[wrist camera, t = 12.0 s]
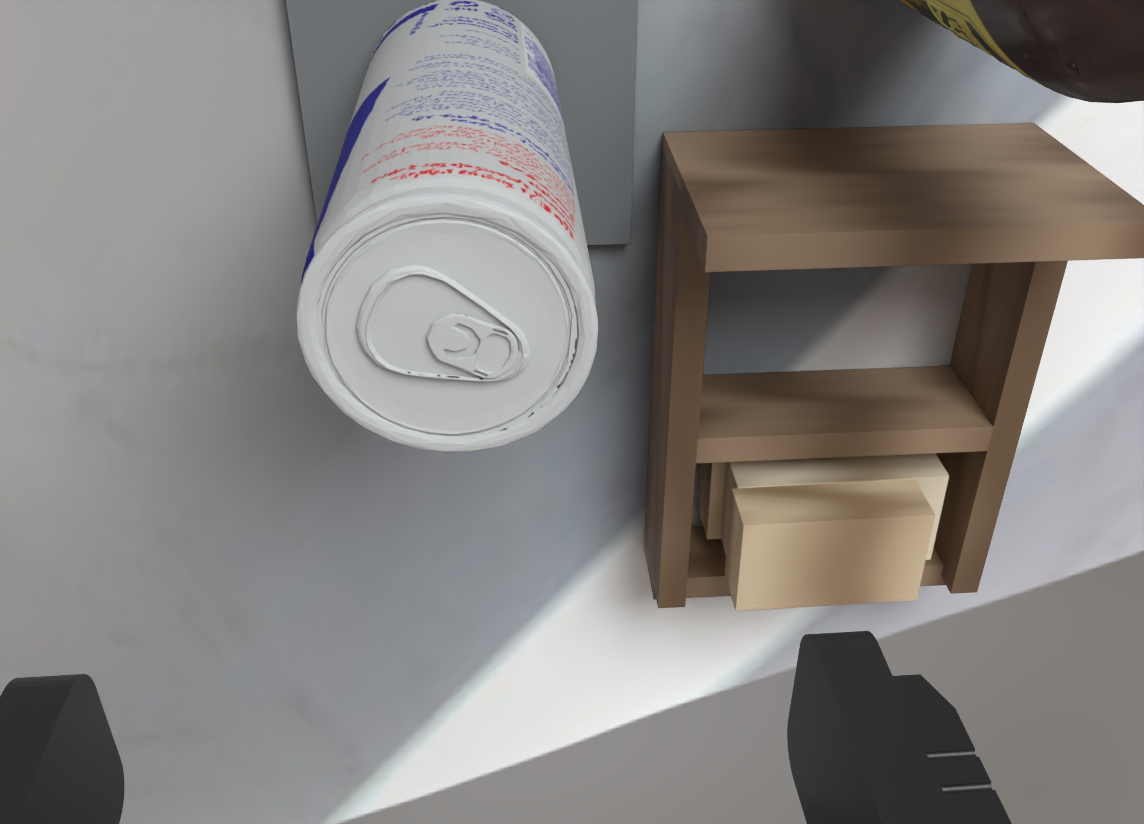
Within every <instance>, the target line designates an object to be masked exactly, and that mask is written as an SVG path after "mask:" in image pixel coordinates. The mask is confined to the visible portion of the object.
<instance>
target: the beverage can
mask: <svg viewBox="0 0 1144 824" xmlns="http://www.w3.org/2000/svg"><path fill="white" fill-rule="evenodd" d="M296 324H297V333H298V340H299V343H300V346H301V349H302V353H303V356H304V359H305V362H306V364H307V366H308V368H309V370H310V372H311V374H312V376H313V378H314V379H315V381H316V382H317V383H318V385H319V386H320V387H321V389H322V390H323V391H324V393H325V394H326V395H327V396H328V397H329V399H330V400H331V401H332V402H333V403H334V404H335V405H336V406H337V407H338V408H339V409H340V410H341V411H342V412H343V413H344V414H346V415H347V416H349V417H350V418H351V419H353V420H354V421H356V422H357V423H358V424H360V425H361V426H363V427H365V428H366V429H368V430H370V431H372V432H373V433H375V434H377V435H380V436H382V437H384V438H387V439H389V440H391V441H394V442H397V443H400V444H404V445H407V446H411V447H414V448H418V449H422V450H431V451H439V452H471V451H481V450H486V449H490V448H495V447H500V446H503V445H506V444H509V443H512V442H515V441H517V440H519V439H522V438H524V437H526V436H529V435H531V434H533V433H535V432H537V431H538V430H540V429H541V428H542V427H544V426H545V425H547V424H548V423H549V422H550V421H552V420H553V419H554V418H555V417H557V416H558V415H559V414H560V413H562V412H563V411H564V410H565V409H566V408H567V407H568V405H569V404H570V403H571V402H572V401H573V400H574V398H575V397H576V396H577V395H578V393H579V391H580V390H581V388H582V386H583V384H584V383H585V381H586V379H587V377H588V375H589V373H590V370H591V367H592V364H593V360H594V357H595V354H596V350H597V335H598V317H597V312H596V300H595V285H594V280H593V274H592V269H591V264H590V259H589V253H588V248H587V243H586V238H585V232H584V227H583V222H582V217H581V211H580V206H579V201H578V196H577V190H576V185H575V180H574V175H573V169H572V164H571V159H570V154H569V148H568V143H567V138H566V133H565V128H564V122H563V117H562V112H561V107H560V101H559V96H558V91H557V86H556V80H555V76H554V72H553V68H552V65H551V62H550V60H549V58H548V55H547V53H546V51H545V50H544V48H543V46H542V45H541V43H540V41H539V40H538V39H537V37H536V36H535V35H534V34H533V33H532V31H531V30H530V29H529V28H528V27H527V26H526V25H525V24H524V23H522V22H521V21H520V20H519V19H517V18H516V17H515V16H513V15H512V14H510V13H509V12H507V11H505V10H503V9H501V8H499V7H497V6H495V5H492V4H489V3H486V2H483V1H478V0H437V1H432V2H429V3H427V4H424V5H421V6H419V7H416V8H415V9H413V10H411V11H409V12H407V13H406V14H404V15H403V16H402V17H400V18H399V19H398V20H397V21H396V22H395V23H393V24H392V25H391V26H390V27H389V28H388V30H387V31H386V32H385V33H384V35H383V36H382V37H381V39H380V40H379V42H378V44H377V46H376V47H375V49H374V51H373V53H372V56H371V59H370V62H369V65H368V69H367V73H366V76H365V79H364V82H363V85H362V88H361V91H360V94H359V98H358V101H357V104H356V107H355V110H354V113H353V116H352V119H351V122H350V125H349V129H348V132H347V135H346V138H345V141H344V144H343V147H342V150H341V153H340V156H339V160H338V163H337V166H336V169H335V172H334V175H333V178H332V181H331V184H330V187H329V191H328V194H327V197H326V200H325V203H324V206H323V209H322V212H321V215H320V219H319V222H318V225H317V228H316V231H315V234H314V237H313V240H312V243H311V246H310V250H309V253H308V256H307V259H306V263H305V267H304V271H303V274H302V282H301V288H300V292H299V296H298V300H297V317H296Z"/></svg>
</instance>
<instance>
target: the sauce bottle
mask: <svg viewBox="0 0 1144 824" xmlns="http://www.w3.org/2000/svg"><path fill="white" fill-rule="evenodd" d="M899 1H901V2H903V3H905V4H906V5H908V6H909V7H911V8H913V9H914V10H916V11H918V12H919V13H921V14H922V15H924V16H926V17H928V18H929V19H931V20H933V21H935V22H936V23H938V24H940V25H941V26H942V27H944V28H946V29H948V30H950V31H952V32H953V33H954V34H955V35H956V36H958V37H959V38H961V39H963V40H965V41H967V42H969V43H971V44H972V45H973V46H976V47H978V48H980V49H981V50H984V51H985V52H987V53H988V54H989V55H991V56H994V57H995V58H996V59H997V60H999V61H1000V62H1002V63H1004V64H1005V65H1007V66H1009V67H1011V68H1013V69H1015V70H1017V71H1019V72H1020V73H1021V74H1023V75H1024V76H1026V77H1028V78H1030V79H1032V80H1034V81H1036V82H1038V83H1039V84H1041V85H1043V86H1045V87H1047V88H1049V89H1051V90H1053V91H1055V92H1057V93H1060V94H1063V95H1065V96H1068V97H1071V98H1075V99H1080V100H1084V101H1088V102H1105V103H1124V102H1134V101H1144V0H899Z"/></svg>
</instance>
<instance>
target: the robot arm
mask: <svg viewBox="0 0 1144 824" xmlns="http://www.w3.org/2000/svg"><path fill="white" fill-rule="evenodd" d="M787 733H788V734H787V737H788V752H789V760H790V766H791V771H792V775H793V778H794V782H795V786H796V789H797V792H798V796H799V799H800V802H801V805H802V809H803V812H804V815H805V819H806V822H807V824H1011V822H1010V819H1009V818H1008V816H1007V813H1006V811H1005V809H1004V807H1003V805H1002V803H1001V801H1000V799H999V797H998V795H997V793H996V791H995V790H992V788H991V781H990V779H989V777H988V775H987V772H986V770H985V768H984V766H983V764H982V762H981V760H980V758H979V757H976V755H975V748H974V746H973V744H972V742H971V740H970V738H969V736H968V734H967V732H966V730H965V727H964V726H963V723H962V721H961V720H960V717H959V715H958V713H957V711H956V709H955V708H954V707H953V706H952V705H951V704H950V703H949V702H948V701H947V700H946V699H945V698H944V697H943V696H942V695H941V694H940V693H939V692H938V691H937V690H936V689H934V687H933V686H932V685H931V684H930V683H929V682H927V681H926V680H925V679H924V678H923V677H922V676H921V675H903V676H892V674H891V672H890V669H889V667H888V665H887V663H886V660H885V658H884V656H883V653H882V651H881V649H880V647H879V644H878V642H877V640H876V638H875V637H874V636H873V634H872V633H871V632H869V631H858V632H841V633H823V634H806V635H804V636H803V638H802V640H801V643H800V648H799V655H798V661H797V668H796V674H795V680H794V687H793V694H792V699H791V706H790V712H789V719H788V729H787ZM123 800H124V773H123V767H122V763H121V759H120V756H119V753H118V750H117V747H116V745H115V742H114V739H113V736H112V733H111V730H110V727H109V724H108V721H107V718H106V715H105V713H104V710H103V707H102V704H101V701H100V698H99V695H98V692H97V689H96V686H95V684H94V682H93V680H92V679H91V677H90V676H88V675H86V674H78V675H61V676H44V677H26V678H15V679H13V680H12V681H11V682H9V683H8V685H7V686H6V687H5V689H4V691H3V693H2V694H1V697H0V824H119V821H120V818H121V813H122V808H123Z"/></svg>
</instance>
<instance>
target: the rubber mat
mask: <svg viewBox="0 0 1144 824" xmlns="http://www.w3.org/2000/svg"><path fill="white" fill-rule="evenodd" d="M432 1H437V0H286V5H287V12H288V19H289V27H290V34H291V41H292V48H293V55H294V62H295V70H296V77H297V84H298V91H299V98H300V105H301V112H302V120H303V127H304V134H305V141H306V148H307V155H308V162H309V170H310V177H311V184H312V191H313V198H314V205H315V213H316V220H317V225H318V222H319V219H320V215H321V212H322V209H323V206H324V203H325V200H326V197H327V194H328V191H329V187H330V184H331V181H332V178H333V175H334V172H335V169H336V166H337V163H338V160H339V156H340V153H341V150H342V147H343V144H344V141H345V138H346V135H347V132H348V129H349V125H350V122H351V119H352V116H353V113H354V110H355V107H356V104H357V101H358V98H359V94H360V91H361V88H362V85H363V82H364V79H365V76H366V73H367V69H368V65H369V62H370V59H371V56H372V53H373V51H374V49H375V47H376V46H377V44H378V42H379V40H380V39H381V37H382V36H383V35H384V33H385V32H386V31H387V30H388V28H389V27H390V26H391V25H392V24H393V23H395V22H396V21H397V20H398V19H399V18H400V17H402V16H403V15H404V14H406V13H407V12H409V11H411V10H413V9H415V8H416V7H419V6H421V5H424V4H427V3H429V2H432ZM478 1H483V2H486V3H489V4H492V5H495V6H497V7H499V8H501V9H503V10H505V11H507V12H509V13H510V14H512V15H513V16H515V17H516V18H517V19H519V20H520V21H521V22H522V23H524V24H525V25H526V26H527V27H528V28H529V29H530V30H531V31H532V33H533V34H534V35H535V36H536V37H537V39H538V40H539V41H540V43H541V45H542V46H543V48H544V50H545V51H546V53H547V55H548V58H549V60H550V62H551V65H552V68H553V72H554V76H555V80H556V86H557V91H558V96H559V101H560V107H561V112H562V117H563V122H564V128H565V133H566V138H567V143H568V148H569V154H570V159H571V164H572V169H573V175H574V180H575V185H576V190H577V196H578V201H579V206H580V211H581V217H582V222H583V227H584V232H585V238H586V243H587V245H607V244H630V240H631V208H632V175H633V143H634V111H635V78H636V46H637V14H638V0H478Z"/></svg>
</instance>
